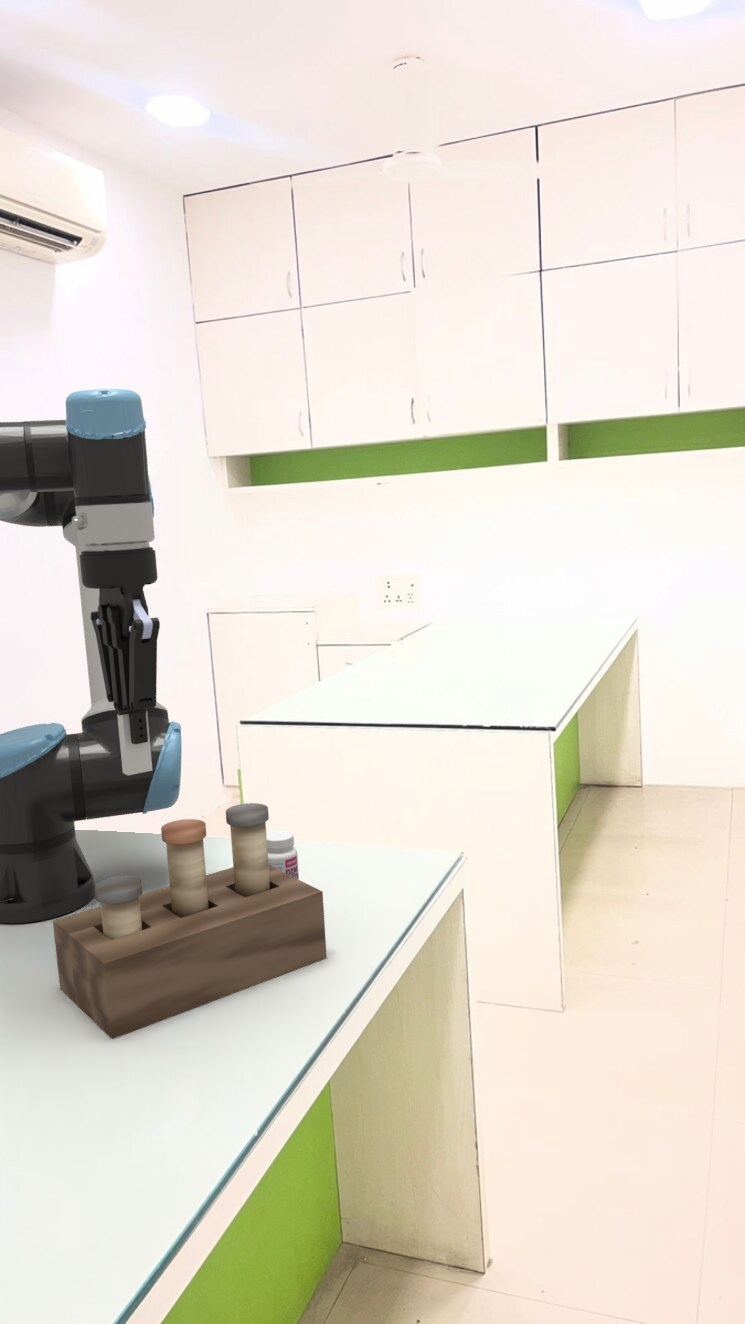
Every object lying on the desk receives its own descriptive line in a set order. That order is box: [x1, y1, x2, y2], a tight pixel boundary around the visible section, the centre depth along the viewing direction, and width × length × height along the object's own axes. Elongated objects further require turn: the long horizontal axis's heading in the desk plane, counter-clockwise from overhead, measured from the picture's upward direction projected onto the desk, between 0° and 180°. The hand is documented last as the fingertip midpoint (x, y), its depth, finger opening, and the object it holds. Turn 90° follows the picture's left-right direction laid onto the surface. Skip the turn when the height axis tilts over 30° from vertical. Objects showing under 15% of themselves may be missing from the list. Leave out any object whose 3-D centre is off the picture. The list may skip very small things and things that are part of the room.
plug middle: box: [160, 818, 209, 918], centre depth 114 cm, size 5×5×12 cm
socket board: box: [52, 865, 328, 1040], centre depth 116 cm, size 14×26×8 cm, turn 127°
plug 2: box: [225, 802, 270, 897], centre depth 119 cm, size 5×5×12 cm
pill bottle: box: [266, 830, 300, 880], centre depth 136 cm, size 5×5×8 cm
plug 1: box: [94, 874, 144, 940], centre depth 111 cm, size 5×5×12 cm
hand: (137, 771), depth 109 cm, fingers closed
